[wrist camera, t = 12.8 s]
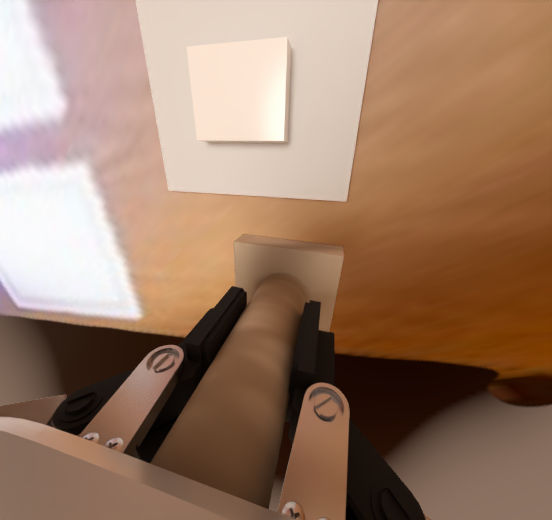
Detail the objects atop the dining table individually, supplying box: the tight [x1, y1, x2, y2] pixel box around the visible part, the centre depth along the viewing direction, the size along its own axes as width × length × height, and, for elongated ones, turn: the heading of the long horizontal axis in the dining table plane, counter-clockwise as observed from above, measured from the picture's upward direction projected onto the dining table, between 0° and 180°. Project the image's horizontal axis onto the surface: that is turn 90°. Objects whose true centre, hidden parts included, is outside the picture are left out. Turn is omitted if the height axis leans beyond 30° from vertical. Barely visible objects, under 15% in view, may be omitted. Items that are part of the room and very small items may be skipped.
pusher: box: [150, 234, 344, 509], centre depth 9 cm, size 6×6×10 cm
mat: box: [135, 0, 378, 202], centre depth 24 cm, size 24×20×1 cm
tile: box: [187, 37, 291, 143], centre depth 23 cm, size 2×8×10 cm
